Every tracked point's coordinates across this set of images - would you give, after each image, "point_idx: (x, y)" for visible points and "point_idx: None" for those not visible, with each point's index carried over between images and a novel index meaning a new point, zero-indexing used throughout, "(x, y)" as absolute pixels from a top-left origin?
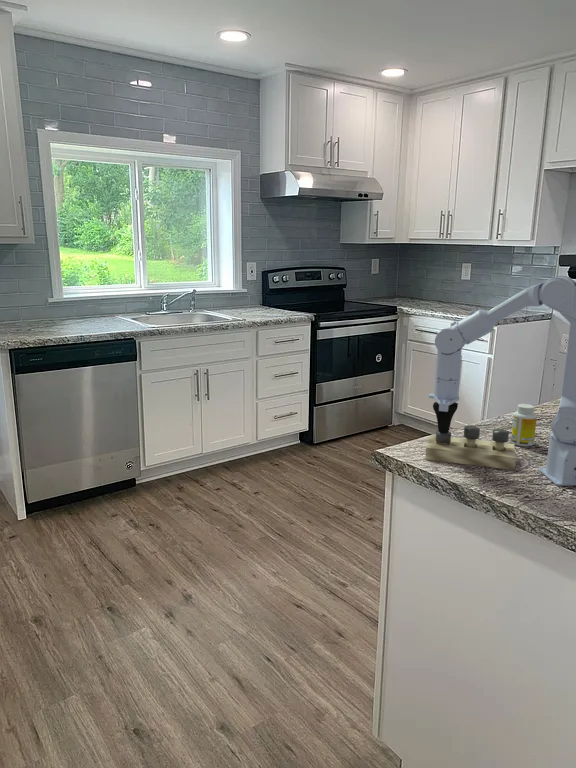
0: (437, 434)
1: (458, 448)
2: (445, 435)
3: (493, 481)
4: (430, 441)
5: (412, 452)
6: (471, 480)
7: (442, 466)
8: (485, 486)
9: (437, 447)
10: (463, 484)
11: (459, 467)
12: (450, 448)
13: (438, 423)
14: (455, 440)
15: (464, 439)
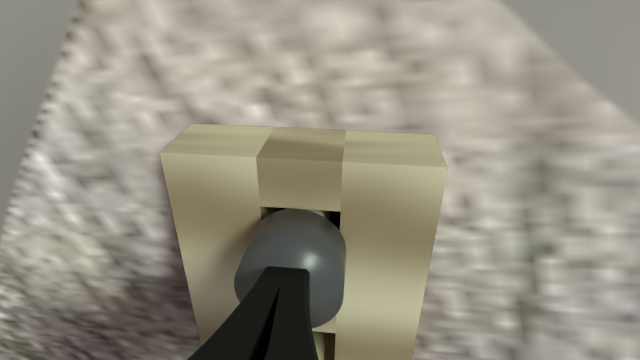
0: (250, 250)
1: (232, 305)
2: (239, 295)
3: (101, 345)
4: (293, 173)
5: (280, 37)
6: (63, 292)
7: (142, 202)
8: (43, 323)
9: (195, 214)
10: (8, 268)
11: (170, 263)
12: (214, 273)
13: (228, 321)
14: (366, 300)
15: (399, 337)
